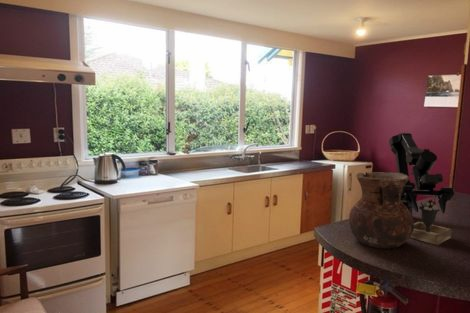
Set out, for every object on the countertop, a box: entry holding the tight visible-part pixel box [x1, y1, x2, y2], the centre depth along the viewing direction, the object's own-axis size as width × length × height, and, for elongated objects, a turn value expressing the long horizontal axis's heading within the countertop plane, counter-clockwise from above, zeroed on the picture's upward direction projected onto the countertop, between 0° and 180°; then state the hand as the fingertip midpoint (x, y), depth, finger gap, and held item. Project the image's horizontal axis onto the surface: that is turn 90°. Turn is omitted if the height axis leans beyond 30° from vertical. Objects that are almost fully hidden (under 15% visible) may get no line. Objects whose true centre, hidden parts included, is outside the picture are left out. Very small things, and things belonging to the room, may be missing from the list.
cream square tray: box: [409, 221, 452, 246], centre depth 138 cm, size 12×12×4 cm
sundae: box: [418, 196, 440, 233], centre depth 137 cm, size 7×7×15 cm
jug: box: [348, 171, 414, 249], centre depth 130 cm, size 22×21×25 cm
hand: (430, 212), depth 136 cm, fingers open, 9 cm apart
